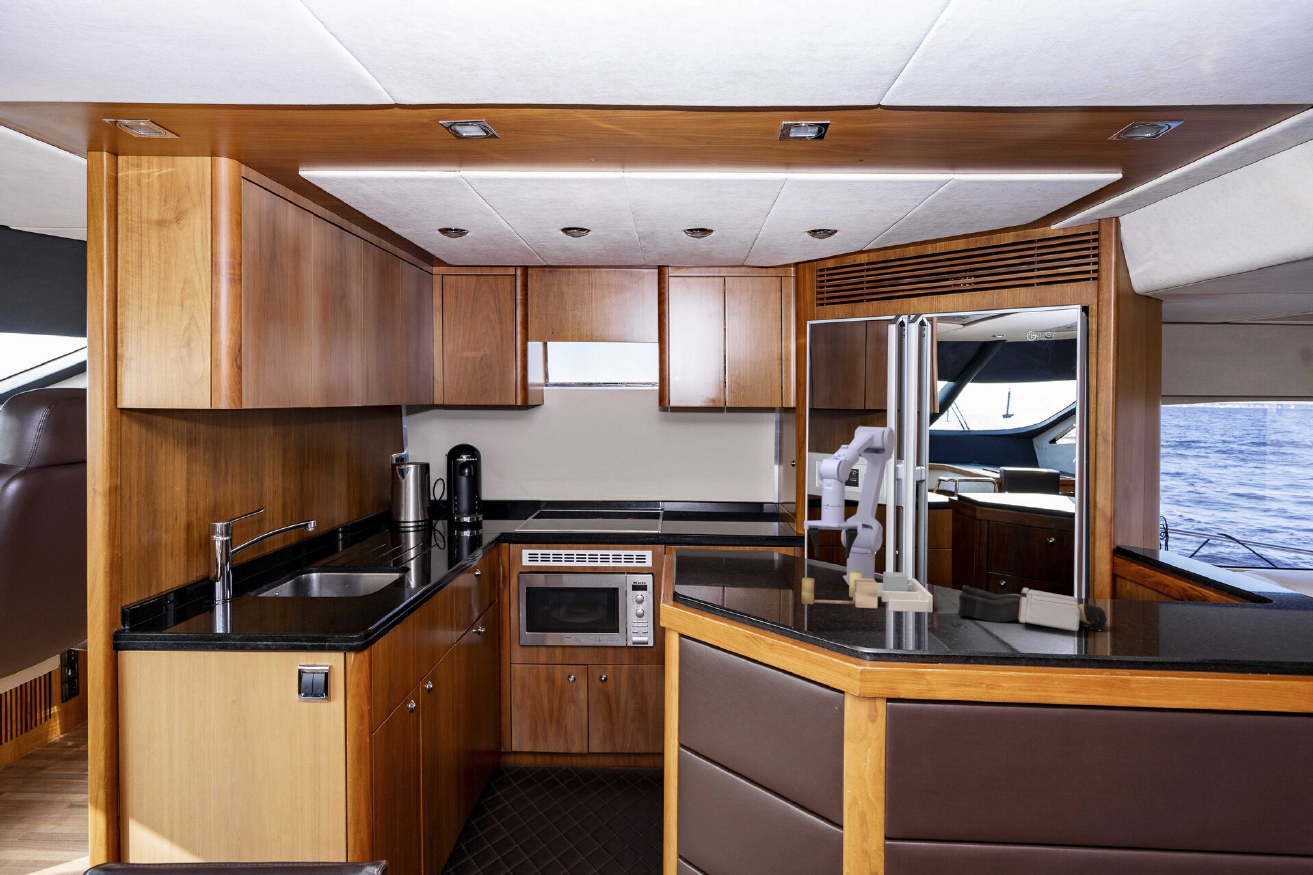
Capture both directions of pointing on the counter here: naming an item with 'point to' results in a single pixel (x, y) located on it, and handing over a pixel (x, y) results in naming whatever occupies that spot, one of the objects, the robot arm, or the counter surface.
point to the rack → (908, 598)
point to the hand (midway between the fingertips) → (831, 557)
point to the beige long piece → (862, 593)
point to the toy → (1030, 609)
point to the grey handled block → (884, 581)
